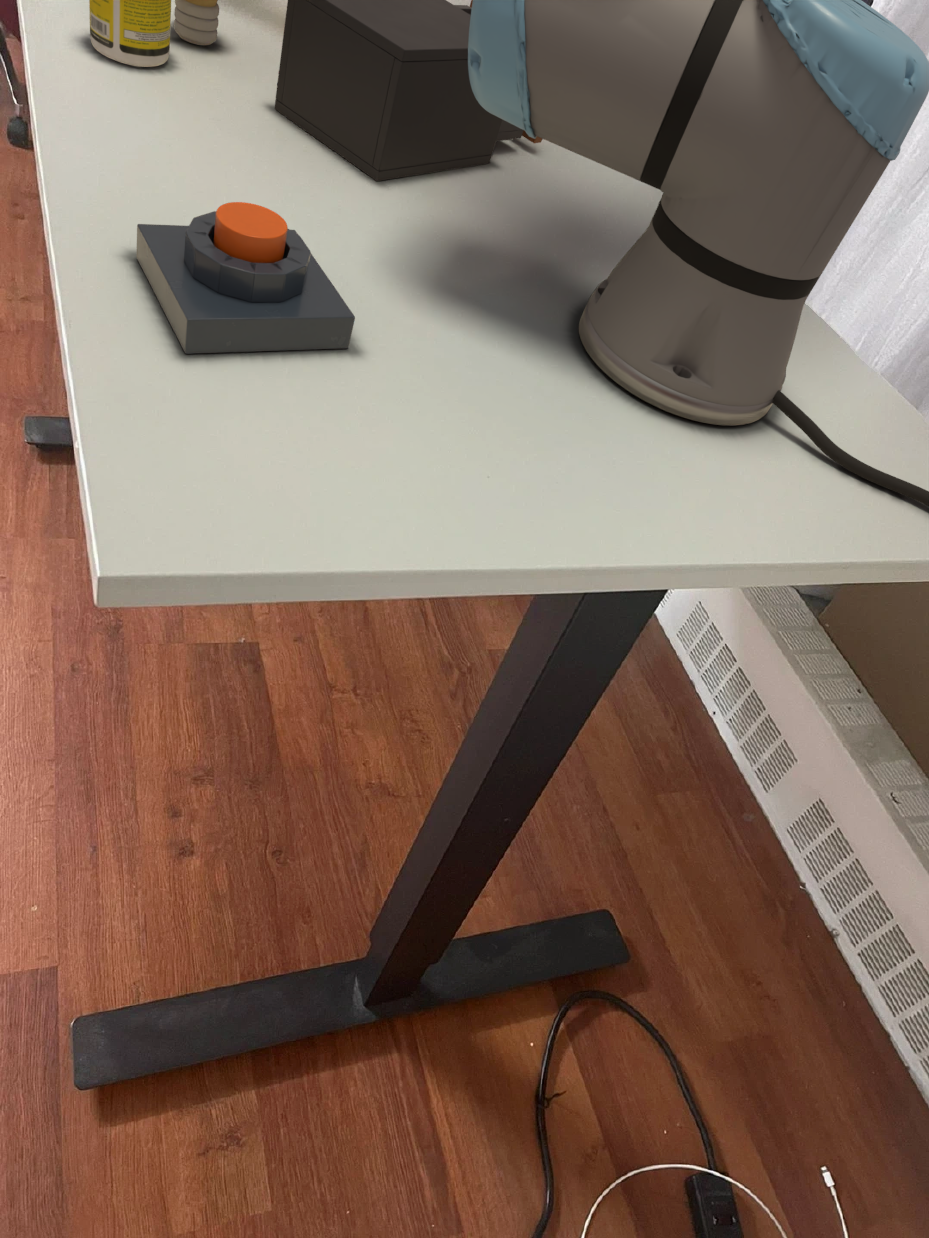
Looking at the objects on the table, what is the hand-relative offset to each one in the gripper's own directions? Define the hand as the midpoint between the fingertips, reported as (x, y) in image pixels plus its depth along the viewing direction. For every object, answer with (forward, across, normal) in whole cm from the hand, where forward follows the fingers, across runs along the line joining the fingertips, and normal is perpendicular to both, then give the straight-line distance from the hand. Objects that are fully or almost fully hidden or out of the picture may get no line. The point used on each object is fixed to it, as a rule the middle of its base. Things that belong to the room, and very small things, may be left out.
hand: (526, 83), depth 88 cm
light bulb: (+20, +19, +14) cm, 31 cm away
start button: (+34, -17, +34) cm, 51 cm away
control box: (+37, -17, +31) cm, 51 cm away
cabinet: (+16, 0, +11) cm, 19 cm away
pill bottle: (+26, +17, +20) cm, 37 cm away
